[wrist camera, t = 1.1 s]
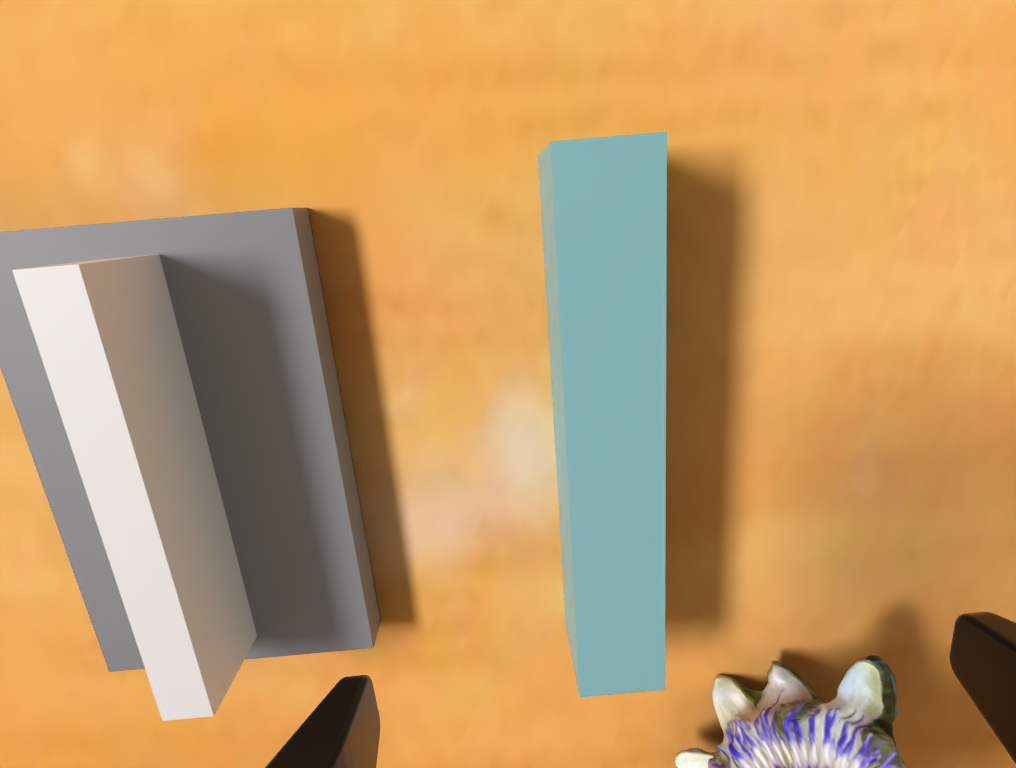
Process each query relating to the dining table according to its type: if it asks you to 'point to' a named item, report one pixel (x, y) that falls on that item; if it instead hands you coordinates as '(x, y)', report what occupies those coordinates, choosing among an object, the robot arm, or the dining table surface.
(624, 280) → the batten
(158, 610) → the ridge stand
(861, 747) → the passion flower
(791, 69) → the dining table surface
